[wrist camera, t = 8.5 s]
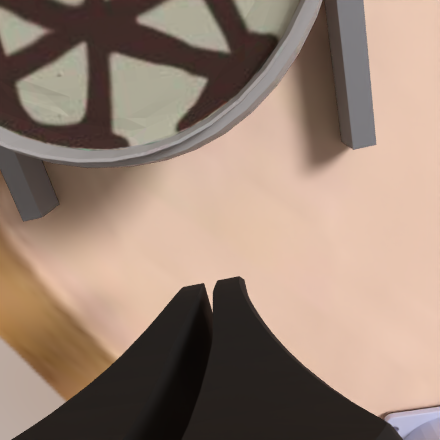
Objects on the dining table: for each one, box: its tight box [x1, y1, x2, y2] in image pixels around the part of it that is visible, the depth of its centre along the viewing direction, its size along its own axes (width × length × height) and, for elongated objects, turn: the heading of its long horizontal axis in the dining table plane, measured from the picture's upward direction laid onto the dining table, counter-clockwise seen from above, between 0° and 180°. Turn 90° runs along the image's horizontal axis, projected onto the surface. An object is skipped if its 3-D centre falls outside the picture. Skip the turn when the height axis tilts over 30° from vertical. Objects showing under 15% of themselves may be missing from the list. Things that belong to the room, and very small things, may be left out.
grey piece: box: [0, 0, 376, 221], centre depth 16 cm, size 14×17×4 cm
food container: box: [0, 0, 322, 168], centre depth 13 cm, size 12×6×10 cm, turn 96°
